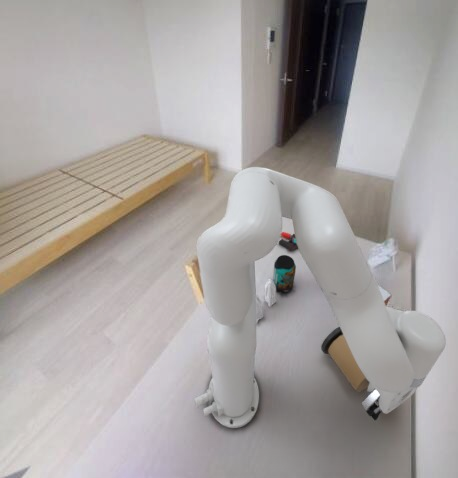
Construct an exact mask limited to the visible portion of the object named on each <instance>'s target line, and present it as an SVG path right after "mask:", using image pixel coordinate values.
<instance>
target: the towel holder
mask: <svg viewBox="0 0 458 478" xmlns="http://www.w3.org/2000/svg"><path fill="white" fill-rule="evenodd" d="M320 349H321V351H322V352H323V354H325V355H329V356H330V357H331V359H332V360H333V362H334V363H335V364H336V365H337V367H338V368H339V370H340V371H341V372H342V374H343V375H344V376H345V378H346V379H347V381H348V382H349V383H350V385H351V386H352V388H353V389H354V390H355V391H356V393H361V392H362V391H364V390H366V389H368V385H369V383H370V382H369V381H368V380H367V379H366V377H365V376H364V374H363V373H362V371H361V370H360V368H359V366H358V364H357V363H356V361H355V359H354V357H353V354H352V352H351V350H350V348H349V346H348V344H347V341H346V339H345V337H344V335H343V333H342V331H341V328H340V326H338V327H337V328H335V329H333V330H332V331H331V332H330V333H329V334H328V335H327V336H326V337H325V338H324V340H323V341H322V343H321V346H320Z"/></svg>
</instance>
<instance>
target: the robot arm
mask: <svg viewBox="0 0 458 478" xmlns="http://www.w3.org/2000/svg"><path fill="white" fill-rule="evenodd" d="M283 218H285V219H289V220H291V222H292V227H293V231H294V233H293V234H295V238H296V243H297V246H298V247H297V249H298V251H299V254H300V256H301V257H302V259H303V260H304V263H305V264H306V266H307V267H308V269H309V271H310V273H311V274H312V276H313V278H314V279H315V281H316V282H317V284H318V285H319V288H320V289H321V291H322V292H323V294H324V296H325V298H326V299H327V301H328V304H329V306H330V307H329V308H330V309H331V313H332V314H333V316H334V318H335V320H336V322H337V324H338V327H340V328H341V331H342V333H343V335H344V337H345V339H346V341H347V344H348V346H349V348H350V350H351V352H352V354H353V357H354V359H355V361H356V363H357V364H358V366H359V368H360V370H361V371H362V373H363V374H364V376H365V377H366V379H367V380H368V381H369V382H370V383H369V385H368V387H367V393H368V395H367V396H366V398H365V399H364V400H363V401H362V402H361V406H362V407H363V409H364V410H365V412H366V414H367V415H368V416H369V417H371V418H372V420H373V421H374V422H376V421H378V418H379V417H380V415H381V413H383V414H389V413H391V412H392V411H394V410H396V409H397V408H398V407H399V406H401V405H402V404H403V403H404V402H405V401H407V400H408V399H409V398H410V397H411V396H413V395H414V394H415V392H416V391H417V389H418V388H420V387H421V386H422V385H423V383H424V382H425V380H426V378H427V377H428V375H429V373H430V372H431V370H432V369H433V367H434V366H435V364H436V363H437V361H438V359H439V358H440V356H442V353H443V352H444V350H445V348H446V344H447V340H446V335H445V332H444V331H443V329H442V326H440V325H439V323H438V322H437V321H436V320H435V319H433V318H432V317H431V316H429V315H427V314H426V313H423V312H421V311H417V310H406V311H405V310H400V309H397V308H392V307H389V306H388V305H387V306H386V305H385V302H384V300H383V297H382V294H381V292H380V290H379V287H378V285H379V284H378V283H377V280H376V279H375V277H374V273H373V272H372V270H371V268H370V266H369V264H368V261H367V259H366V257H365V255H364V253H363V251H362V249H361V246H360V245H359V242H358V240H357V237H356V236H355V234H354V232H353V229H352V226H351V225H350V223H349V221H348V218H347V217H346V215H345V212H344V210H343V208H342V206H341V204H340V202H339V200H338V198H337V197H336V196H335V195H334V194H333V193H332V192H330V191H328V190H327V189H325V188H323V187H321V186H319V185H316V184H314V183H311V182H308V181H306V180H303V179H300V178H297V177H293V176H290V175H287V174H285V173H283V172H279V171H276V170H274V169H269V168H267V167H261V166H251V167H250V166H249V167H245V168H244V169H242V170H240V171H239V172H237V173H236V174H235V176H233V179H232V180H231V183H230V186H229V191H228V197H227V202H226V208H225V214H224V216H223V218H222V219H220V220H219V221H218V222H217V223H215V224H214V225H212V226H210V227H208V228H207V229H206V230H204V231H203V232H202V233H201V234H200V235H199V237H198V238H197V240H196V257H197V262H198V267H199V275H200V283H201V288H202V293H203V301H204V304H205V307H206V311H208V314H209V315H210V317H209V323H208V329H207V338H206V349H207V352H208V355H209V357H210V366H211V374H212V376H211V377H212V378H211V379H210V382H209V384H208V385H209V386H208V389H206V391H205V392H204V393H203V394H200V395H198V396H196V397H194V398H193V400H194V404H195V407H196V409H199V408H200V407H202V406H204V405H205V404H206V403H208V406H207V407H204V408H203V409H202V412H203V415H204V417H208V416H209V415H211V414H212V416H213V418H214V419H215V420H216V422H217V423H219V424H221V426H224V427H225V428H229V429H238V428H241V427H244V426H246V425H247V424H248V423H250V422H251V421H252V419H253V418H254V416H255V415H256V413H257V410H258V409H259V408H258V407H259V403H260V390H259V385H258V382H257V380H256V378H255V359H256V358H255V357H256V353H257V323H256V294H257V285H256V268H255V267H256V264H255V262H257V261H259V260H261V259H263V258H264V257H266V256H268V255H269V254H270V253H271V252H272V251H273V250H274V249H275V247H276V246H277V245H278V244H279V241H280V240H281V237H282V236H281V233H282V232H283ZM376 402H377V403H378V404H377V403H376Z"/></svg>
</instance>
